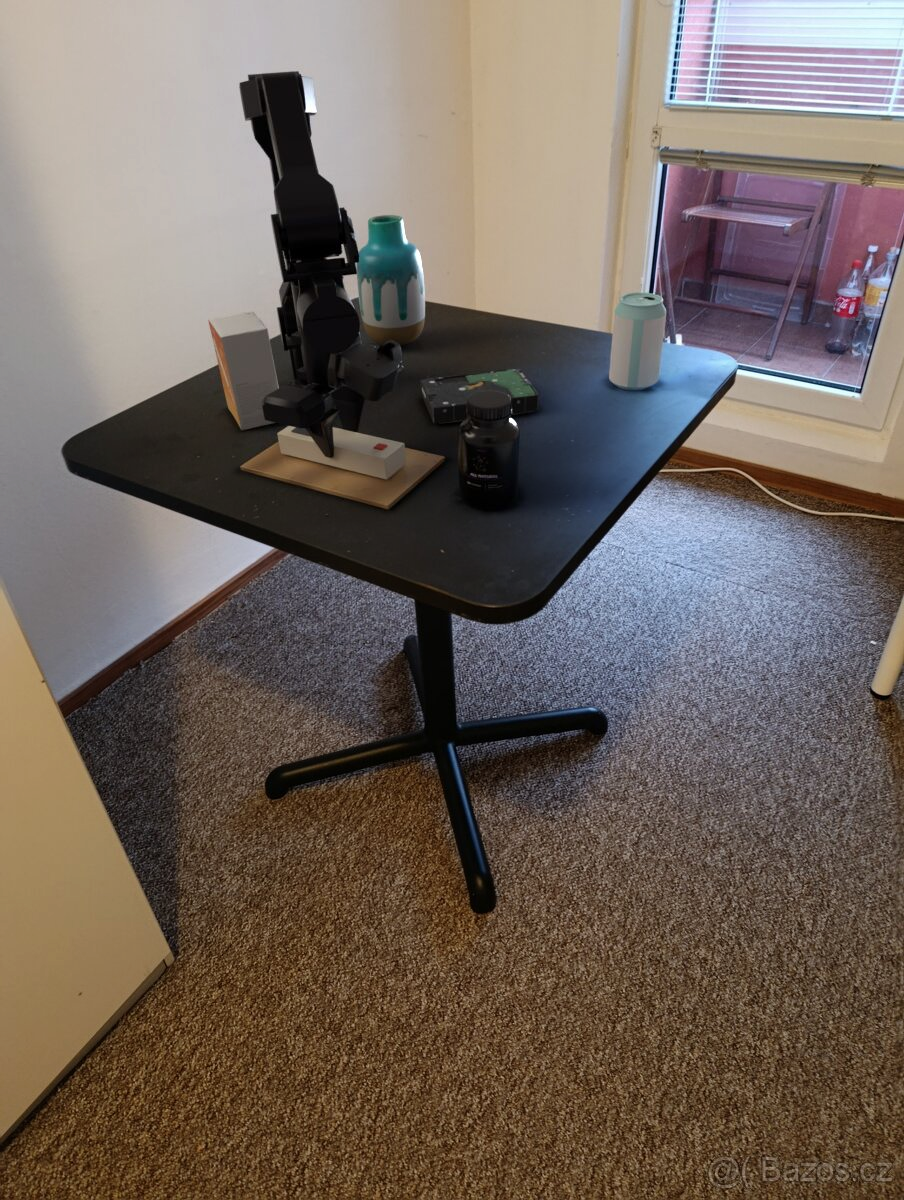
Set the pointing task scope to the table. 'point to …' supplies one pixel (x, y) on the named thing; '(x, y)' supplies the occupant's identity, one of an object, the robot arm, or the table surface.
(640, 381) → the can
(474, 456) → the supplement bottle
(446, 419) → the disk drive
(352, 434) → the remote
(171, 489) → the table surface
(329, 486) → the cork mat
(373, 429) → the table surface
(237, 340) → the small box
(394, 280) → the vase
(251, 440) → the table surface
